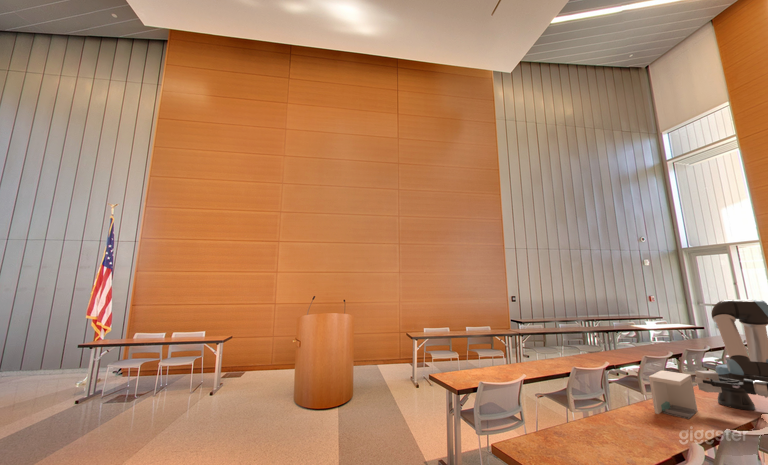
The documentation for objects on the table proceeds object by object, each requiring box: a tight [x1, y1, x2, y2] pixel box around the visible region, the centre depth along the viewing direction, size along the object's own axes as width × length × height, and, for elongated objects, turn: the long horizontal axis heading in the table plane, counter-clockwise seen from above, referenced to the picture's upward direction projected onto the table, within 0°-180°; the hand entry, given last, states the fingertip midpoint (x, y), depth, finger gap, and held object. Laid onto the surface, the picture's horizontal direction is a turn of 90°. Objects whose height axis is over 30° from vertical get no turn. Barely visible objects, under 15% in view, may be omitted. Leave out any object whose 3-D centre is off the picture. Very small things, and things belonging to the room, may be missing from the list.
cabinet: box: [648, 369, 699, 420], centre depth 179 cm, size 14×24×20 cm, turn 125°
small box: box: [694, 370, 722, 394], centre depth 178 cm, size 8×6×10 cm
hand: (697, 378), depth 182 cm, fingers closed on small box, 9 cm apart
